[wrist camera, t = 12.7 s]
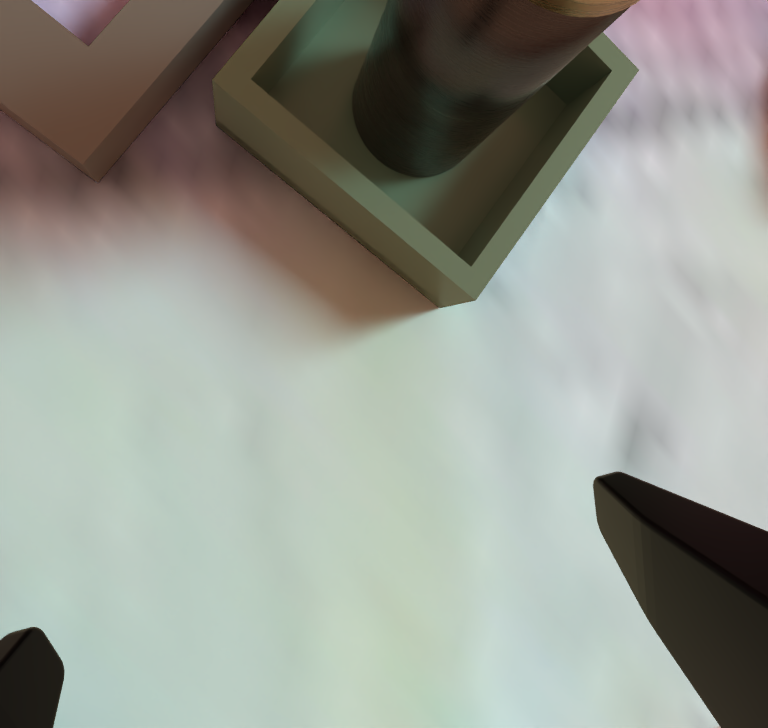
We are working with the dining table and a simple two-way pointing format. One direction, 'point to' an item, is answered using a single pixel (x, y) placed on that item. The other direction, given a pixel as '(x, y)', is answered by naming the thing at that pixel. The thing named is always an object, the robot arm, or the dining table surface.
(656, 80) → the dining table surface
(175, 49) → the tester cradle
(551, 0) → the battery cell
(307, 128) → the cup
